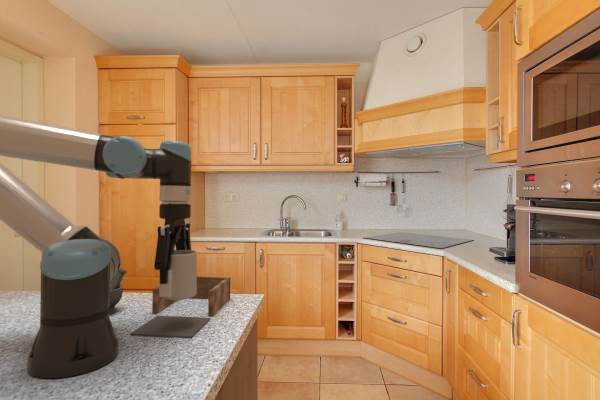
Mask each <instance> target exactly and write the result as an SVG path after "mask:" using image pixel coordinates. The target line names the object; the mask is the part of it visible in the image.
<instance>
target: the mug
mask: <svg viewBox="0 0 600 400" xmlns="http://www.w3.org/2000/svg"><path fill="white" fill-rule="evenodd" d="M197 266H198V252H197V251H196V250H192V249H191V250H176V249H174V252H173V255H171V266H170V269H172V296H171V297H162V298H163V299H167V300H177V301H181V300H182V301H183V300H187V299H193V298H192V297H194V296H195V295H196V293H197V276H198V274H197V273H198V272H197V271H198V270H197V268H198V267H197Z"/></svg>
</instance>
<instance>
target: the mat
mask: <svg viewBox="0 0 600 400" xmlns="http://www.w3.org/2000/svg"><path fill="white" fill-rule="evenodd" d="M210 320H211V317H199V316H198V317H197V316H196V317H195V316H193V317H191V316H171V315H170V316H169V315H156V316H154V317H152V319H150V320H148V321H147V322H146V323H144V324H142V325H141V326H139V327H138V328H137V329H135V330H134V331H132V332H131V333H130V334H129V335H130V336H140V337H141V336H142V337H160V338H162V337H163V338H164V337H165V338H179V339H182V338H183V339H193V338H194V337H195V335H197V333H198V332H200V331H201V330H202V329H203V328H204V326H205V325H207V324H208V322H210Z"/></svg>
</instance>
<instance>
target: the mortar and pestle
mask: <svg viewBox="0 0 600 400" xmlns="http://www.w3.org/2000/svg"><path fill="white" fill-rule="evenodd" d="M126 274H127V270H126V269H124V268H121V267H120V269H119V272H118V274H117V276H116V277H115V278H114V279H113V280H112V281H111V283H110V306H109V315H112V314H113V313H115V312H116V305H118V304H119V303H120V301H121V299H122V298H123V292H124V287H123V285H122V284H121V283H122V281H123V278H124V276H125V275H126Z"/></svg>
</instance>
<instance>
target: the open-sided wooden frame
mask: <svg viewBox="0 0 600 400" xmlns="http://www.w3.org/2000/svg"><path fill="white" fill-rule="evenodd" d="M191 299H202V300H208V304H207V305H208V308H207V311H208V312H207V313H208V314H207V315H208V316H207V317H213V316H215V315H216V313H218V312H219V310H220V309H222V308H223V307H224V305H226V304H227V302H229V301H230V300H231V277H228V276H227V277H224V276H199V275H197V293H196V295H195V296H194V297H192V298H191ZM151 301H152V304H151V306H152V307H151V309H152V311H151V312H152V313H151V314H152V315H157V314H159V313H160V312H161V311H163V310H165V309H166V308H167V307H169V306H171V305H172V304H174V303H176V302H177V301H178V300H167V299H163V298H162V297H159V285H157V286H156V287H154V288H153V289H152V300H151Z"/></svg>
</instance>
